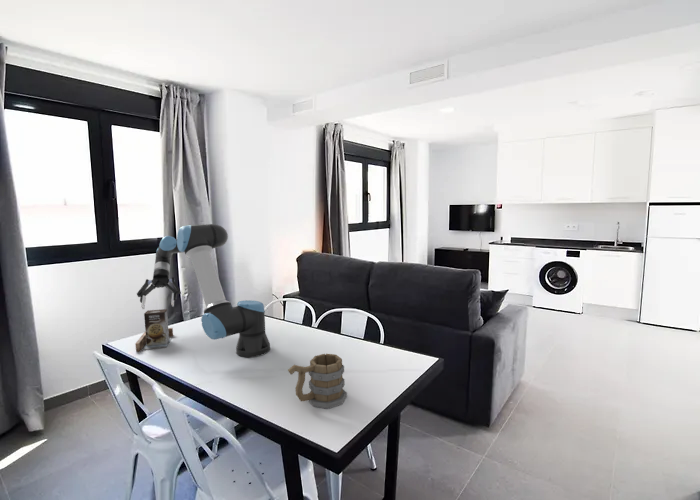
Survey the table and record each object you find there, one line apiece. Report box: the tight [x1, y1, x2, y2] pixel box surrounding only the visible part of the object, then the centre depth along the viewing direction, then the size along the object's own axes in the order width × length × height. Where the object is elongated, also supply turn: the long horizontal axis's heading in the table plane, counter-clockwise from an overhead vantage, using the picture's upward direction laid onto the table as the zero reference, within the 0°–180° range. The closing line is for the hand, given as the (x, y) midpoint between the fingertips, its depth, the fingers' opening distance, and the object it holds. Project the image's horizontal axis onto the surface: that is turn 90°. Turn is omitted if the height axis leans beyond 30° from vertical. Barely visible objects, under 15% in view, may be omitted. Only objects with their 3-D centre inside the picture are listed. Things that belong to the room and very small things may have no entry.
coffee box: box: [143, 308, 170, 346], centre depth 179 cm, size 9×6×16 cm
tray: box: [134, 327, 174, 353], centre depth 181 cm, size 19×12×4 cm
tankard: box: [287, 353, 348, 410], centre depth 124 cm, size 20×13×15 cm, turn 118°
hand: (157, 306), depth 185 cm, fingers open, 13 cm apart
